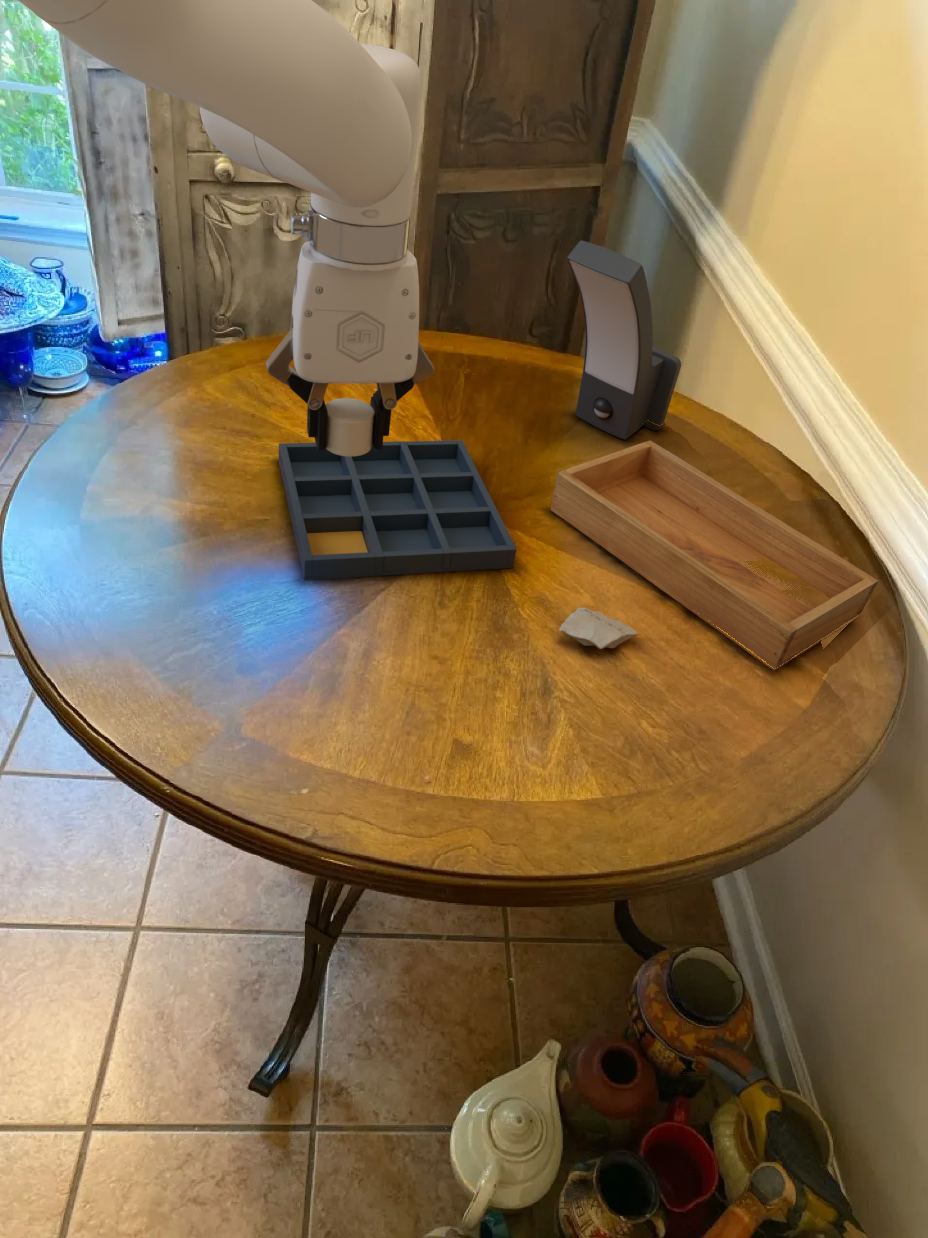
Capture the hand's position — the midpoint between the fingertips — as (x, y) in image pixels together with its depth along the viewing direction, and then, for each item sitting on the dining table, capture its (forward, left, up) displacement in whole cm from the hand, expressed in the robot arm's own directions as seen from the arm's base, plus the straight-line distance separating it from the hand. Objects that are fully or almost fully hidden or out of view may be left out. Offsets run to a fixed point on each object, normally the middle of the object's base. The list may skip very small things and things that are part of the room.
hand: (347, 440), depth 82 cm
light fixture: (+37, +23, -14) cm, 46 cm away
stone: (+22, -15, -14) cm, 29 cm away
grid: (+7, +7, -13) cm, 17 cm away
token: (0, 0, 0) cm, 0 cm away
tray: (+38, -5, -14) cm, 40 cm away
